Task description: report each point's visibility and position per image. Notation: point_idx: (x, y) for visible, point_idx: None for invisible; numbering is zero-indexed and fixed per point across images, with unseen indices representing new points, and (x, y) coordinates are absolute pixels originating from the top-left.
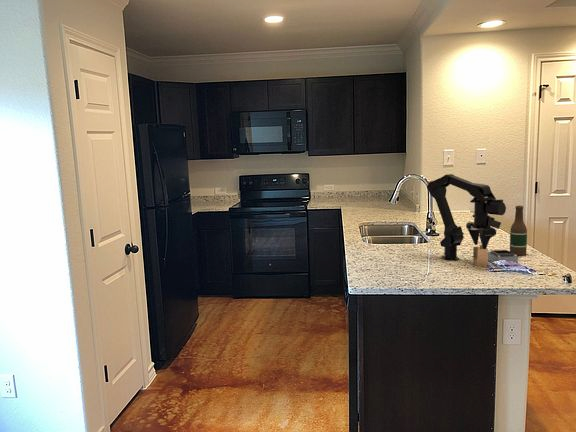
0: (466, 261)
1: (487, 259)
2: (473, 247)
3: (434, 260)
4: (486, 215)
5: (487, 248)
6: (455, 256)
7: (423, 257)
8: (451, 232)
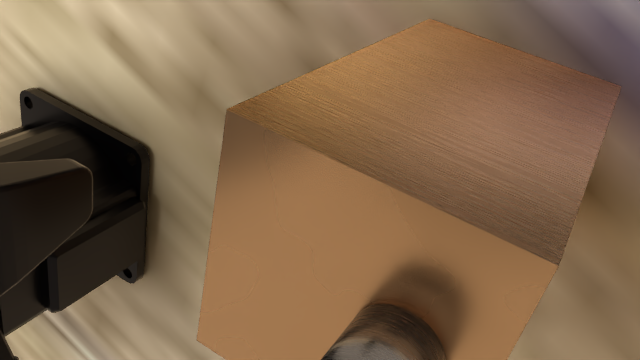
0: None
1: (605, 127)
2: (209, 332)
3: (130, 355)
4: None
5: (535, 256)
6: (125, 224)
7: (36, 330)
8: None
